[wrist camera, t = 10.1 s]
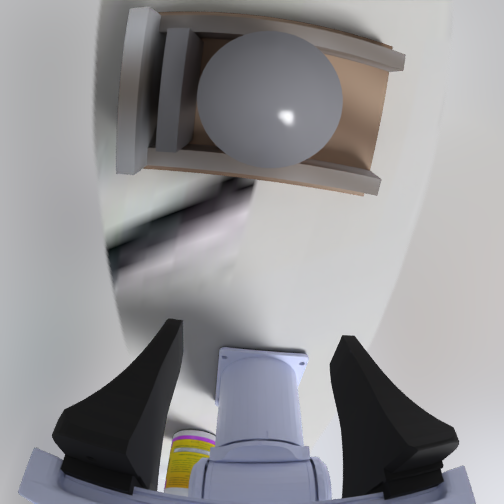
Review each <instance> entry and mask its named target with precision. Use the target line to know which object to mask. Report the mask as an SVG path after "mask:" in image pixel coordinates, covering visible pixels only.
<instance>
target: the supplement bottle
mask: <svg viewBox="0 0 504 504" xmlns="http://www.w3.org/2000/svg"><path fill="white" fill-rule="evenodd" d="M215 440H216V436H214V435H212V434H210V433H207V432H203V431H198V430H183V431H179V432H177V433H176V434H175V435H174V436H173V440H172V445H171V451H170V457H169V463H168V469H167V475H166V482H165V488H164V493H168V494H173V495H179V496H186V497H188V488H189V480H190V475H191V471H192V468H193V466H194V465H195V464H196V463H197V462H198V461H199V460H200V459H201V458H209V457H210V448H211V447H215Z"/></svg>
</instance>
